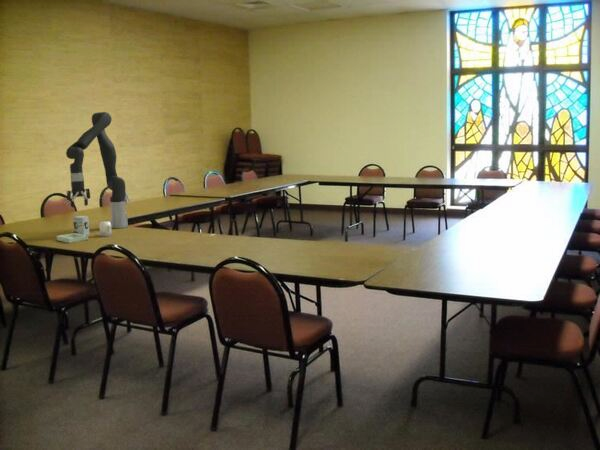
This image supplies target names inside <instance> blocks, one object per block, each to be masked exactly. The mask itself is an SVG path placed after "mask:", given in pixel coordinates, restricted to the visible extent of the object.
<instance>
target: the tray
mask: <svg viewBox="0 0 600 450" xmlns="http://www.w3.org/2000/svg"><path fill="white" fill-rule="evenodd" d="M56 240H57V241H59V242H62V243H63V242H64V243H67V244H68V243H69V244H74V243H78V242H84V241H85V240H86V241H89V235H87V236H86V235H82V234H77V233H74V232H73V233H67V234H60V235H56Z"/></svg>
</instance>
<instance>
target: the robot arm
mask: <svg viewBox="0 0 600 450" xmlns="http://www.w3.org/2000/svg"><path fill="white" fill-rule="evenodd" d="M111 123H112V116H111V114H110V113H109V112H105V111H102V112H95V113H93V114H92V115H91V124H92V127H90V128H89V129H88V130H86V131H84V132H83V134H81V135H80V137H79V138H78V139H77V140H76V141H75V142H74V143H73V144H71V145H70V146H69V147H68V148H67V149H66V151H65V155H66V157H67V159H70V160H73V163H70V165H69V170H70V186H71V190H66V200H67V201H68V202H70V207H71V208H75V199H76V198H78V197H82V198H83V202H84V203H83V205H84V206H86V207H87V206H88V204H89V201H88V200H89V199H90V198H91V191H90V188H85V178H84V173H83V164H84V158H85V153H84V150H86V149H88V147H89V146H90V145H91V143H92V142H93V141H94V140H95V139H97V143H98V146H99V152H100V155H101V159H102V164H103V167H104V172H105V173H104V174H105V181H106V186H107V188H108V190H111V191H112V192H111V196H110V198H109V205H110V216H111V229H123V228H125V229H126V228H128V227H129V224H128V212H127V211H126V201H125V200H126V195H127V194H126V193H127V192H126V191H127V190H126V181H125V180H124V179H123V178H122V177H119V176H118V173H117V169H116V168H117V167H116V165H117V152H116V149H115V144H114V143H113V142H112V140H111V138H109V136H108V135H107V132H106V128H108V127H109V126H110V124H111ZM85 193H86V194H85Z"/></svg>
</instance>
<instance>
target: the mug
mask: <svg viewBox="0 0 600 450" xmlns="http://www.w3.org/2000/svg"><path fill="white" fill-rule="evenodd" d="M98 227H99V236H100V237H110V236H112V234H113V233H112V221H99V222H98Z"/></svg>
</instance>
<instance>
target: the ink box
mask: <svg viewBox="0 0 600 450" xmlns="http://www.w3.org/2000/svg"><path fill="white" fill-rule="evenodd" d="M72 220H73V221H72V222H73V223H72V224H73V233H77V234H82V235H87V236H90V222H89V216H88V215H76V216H72Z"/></svg>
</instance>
